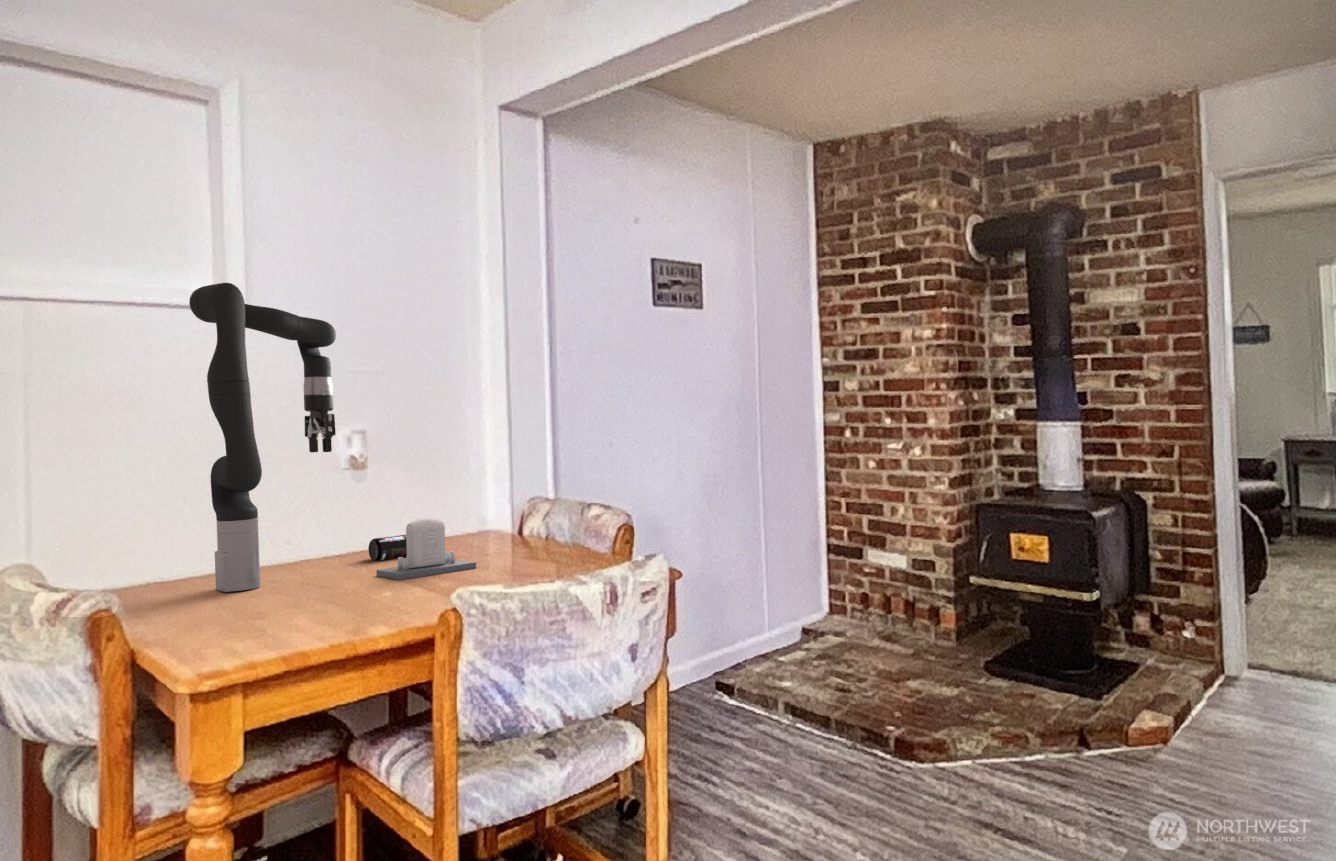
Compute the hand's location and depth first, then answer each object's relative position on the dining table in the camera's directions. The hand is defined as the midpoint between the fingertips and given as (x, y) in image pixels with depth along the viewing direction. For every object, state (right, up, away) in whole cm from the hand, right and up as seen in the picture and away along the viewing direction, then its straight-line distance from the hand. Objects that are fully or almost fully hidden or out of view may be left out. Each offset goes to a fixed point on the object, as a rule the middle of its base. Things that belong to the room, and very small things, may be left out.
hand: (320, 452), depth 241 cm
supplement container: (+14, -29, +5) cm, 33 cm away
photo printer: (+34, -30, -15) cm, 47 cm away
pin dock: (+34, -31, -15) cm, 48 cm away
